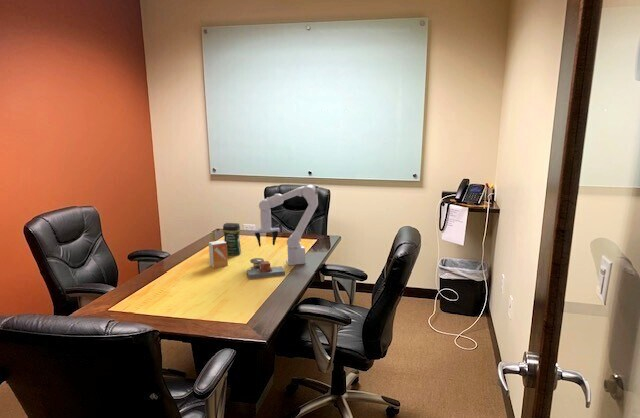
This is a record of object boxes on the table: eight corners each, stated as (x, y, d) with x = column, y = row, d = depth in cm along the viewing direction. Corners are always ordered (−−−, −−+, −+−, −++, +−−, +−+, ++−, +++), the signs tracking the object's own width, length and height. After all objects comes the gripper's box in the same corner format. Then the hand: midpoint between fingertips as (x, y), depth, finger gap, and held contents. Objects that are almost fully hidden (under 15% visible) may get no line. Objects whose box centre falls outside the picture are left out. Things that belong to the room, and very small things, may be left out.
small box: (213, 268, 226) (212, 244, 223) (209, 265, 231) (208, 242, 229) (228, 265, 230) (227, 242, 228) (224, 262, 235) (222, 239, 233)
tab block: (268, 272, 220) (268, 261, 219) (270, 274, 216) (270, 263, 215) (260, 273, 218) (260, 262, 217) (262, 275, 215) (262, 264, 213)
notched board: (281, 269, 223) (281, 266, 222) (284, 274, 215) (284, 271, 215) (247, 273, 218) (246, 269, 217) (249, 278, 210) (248, 275, 210)
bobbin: (263, 266, 228) (262, 257, 227) (265, 270, 222) (264, 261, 221) (249, 267, 226) (249, 258, 225) (251, 272, 220) (251, 262, 219)
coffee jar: (222, 255, 248) (220, 224, 244) (227, 251, 256) (225, 221, 252) (238, 256, 246) (236, 225, 243) (242, 252, 254) (241, 221, 250)
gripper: (277, 218, 237) (278, 242, 240) (251, 220, 233) (252, 244, 236) (280, 221, 231) (280, 245, 233) (253, 223, 227) (254, 248, 229)
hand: (266, 245), depth 234 cm, fingers open, 7 cm apart
